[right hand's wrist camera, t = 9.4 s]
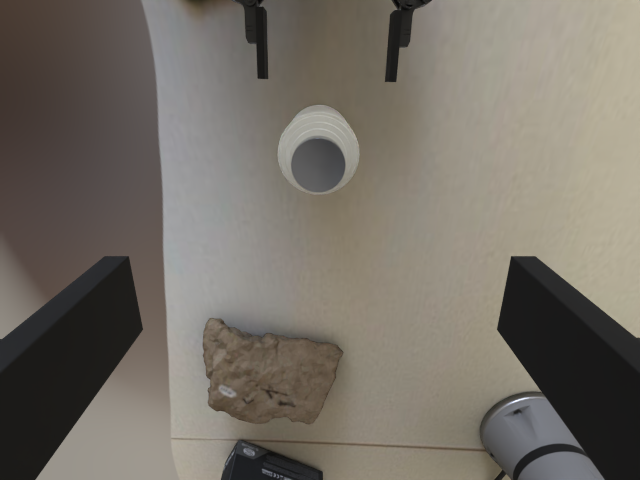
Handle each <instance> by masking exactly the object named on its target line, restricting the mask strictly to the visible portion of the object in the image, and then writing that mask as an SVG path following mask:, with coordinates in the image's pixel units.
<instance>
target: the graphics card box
mask: <svg viewBox="0 0 640 480" xmlns="http://www.w3.org/2000/svg"><path fill="white" fill-rule="evenodd" d="M221 480H323V472H322V471H320V470H317V469H314V468H312V467H309V466H307V465H304V464H302V463H299V462H296V461H294V460H291V459H288V458H286V457H283V456H281V455H278V454H276V453H273V452H270V451H268V450H265V449H263V448H260V447H258V446H255V445H252V444H250V443H247V442H244V441H242V440H239V441H238V442H237V443H236V445H235V447H234V449H233V450H232V452H231V454H230V455H229V457H228V459H227V461H226V463H225V466H224V470H223V474H222V477H221Z"/></svg>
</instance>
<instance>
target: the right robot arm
mask: <svg viewBox="0 0 640 480" xmlns="http://www.w3.org/2000/svg"><path fill="white" fill-rule="evenodd" d="M142 330H143V328H142V322H141V317H140V312H139V307H138V302H137V297H136V291H135V286H134V281H133V276H132V271H131V266H130V260H129V257H128V256H105V257H103V258H102V259H101V260H100V261H98V262H97V263H96V264H95V265H93V266H92V267H91V268H90V269H88V270H87V271H86V272H85V273H84V274H82V275H81V276H80V277H79V278H77V279H76V280H75V281H74V282H72V283H71V284H70V285H69V286H67V287H66V288H65V289H64V290H62V291H61V292H60V293H59V294H58V295H56V296H55V297H54V298H53V299H51V300H50V301H49V302H48V303H46V304H45V305H44V306H43V307H41V308H40V309H39V310H38V311H36V312H35V313H34V314H33V315H32V316H30V317H29V318H28V319H27V320H25V321H24V322H23V323H22V324H20V325H19V326H18V327H17V328H15V329H14V330H13V331H12V332H10V333H9V334H8V335H7V336H6V337H4V338H3V339H0V480H35V479H36V478H37V477H38V475H39V474H40V472H41V471H42V470H43V468H44V467H45V465H46V464H47V463H48V461H49V460H50V458H51V457H52V456H53V454H54V453H55V451H56V450H57V449H58V447H59V446H60V445H61V443H62V442H63V440H64V439H65V437H66V436H67V435H68V433H69V432H70V431H71V429H72V428H73V426H74V425H75V424H76V422H77V421H78V419H79V418H80V417H81V415H82V414H83V412H84V411H85V410H86V408H87V407H88V405H89V404H90V403H91V401H92V400H93V398H94V397H95V396H96V394H97V393H98V392H99V390H100V389H101V387H102V386H103V385H104V383H105V382H106V380H107V379H108V378H109V376H110V375H111V373H112V372H113V371H114V369H115V368H116V366H117V365H118V364H119V362H120V361H121V359H122V358H123V357H124V355H125V354H126V352H127V351H128V350H129V348H130V347H131V345H132V344H133V343H134V341H135V340H136V338H137V337H138V336H139V334H140V333H141V331H142ZM497 330H498V332H499V333H500V334H501V336H502V337H503V338H504V340H505V341H506V343H507V344H508V345H509V347H510V348H511V350H512V351H513V352H514V354H515V355H516V357H517V358H518V359H519V361H520V362H521V364H522V365H523V366H524V368H525V369H526V371H527V372H528V373H529V375H530V376H531V378H532V379H533V380H534V382H535V383H536V385H537V386H538V387H539V389H540V390H541V391H542V393H541V392H526V393H520V394H516V395H513V396H510V397H508V398H506V399H504V400H502V401H500V402H499V403H497V404H496V405H495V406H493V407H492V408H491V409H490V410H489V411H488V413H487V414H486V415H485V417H484V419H483V421H482V423H481V427H480V437H481V440H482V443H483V445H484V447H485V449H486V451H487V453H488V454H489V455H490V457H491V458H492V459H493V460H494V461H495V462H496V463H498V465H499V466H500V467H501V468H502V471H501V473H500V474H499V475H498V476H497V477H496V479H495V480H502V478H503V477H504V476H505V475H506V474H507V475H508V476H509V477H510V478H511V479H512V480H640V338H636V337H634V336H633V335H632V334H631V333H630V332H628V331H627V330H626V329H625V328H623V327H622V326H621V325H620V324H618V323H617V322H616V321H615V320H613V319H612V318H611V317H610V316H608V315H607V314H606V313H605V312H604V311H602V310H601V309H600V308H599V307H597V306H596V305H595V304H594V303H592V302H591V301H590V300H589V299H587V298H586V297H585V296H584V295H582V294H581V293H580V292H579V291H578V290H576V289H575V288H574V287H573V286H571V285H570V284H569V283H568V282H566V281H565V280H564V279H563V278H561V277H560V276H559V275H558V274H556V273H555V272H554V271H553V270H552V269H550V268H549V267H548V266H547V265H545V264H544V263H543V262H542V261H540V260H539V259H538V258H537V257H535V256H511V260H510V266H509V271H508V276H507V281H506V286H505V291H504V297H503V302H502V307H501V312H500V317H499V322H498V327H497Z"/></svg>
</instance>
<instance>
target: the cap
mask: <svg viewBox="0 0 640 480" xmlns="http://www.w3.org/2000/svg"><path fill="white" fill-rule="evenodd" d="M345 167H346V164H345V158H344V155H343V152H342V150H341V148H340V146H339V145H338V144H337V143H336V142H335V141H334V140H332V139H331V138H328V137H326V136H320V135H316V136H311V137H308V138H306V139H304V140H303V141H302V142H301V143H300V144H299V145H298V146H297V147H296V149H295V151H294V154H293V156H292V160H291V171H292V174H293V177H294V178H295V180H296V182H297V183H298V184H299V185H300V186H301V187H303V188H304V189H306V190H308V191H311V192H326V191H328V190H331V189H333V188H334V187H335V186H336V185H338V184H339V182H340V181H341V180H342V178H343V176H344V173H345Z"/></svg>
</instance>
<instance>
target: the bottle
mask: <svg viewBox="0 0 640 480" xmlns="http://www.w3.org/2000/svg"><path fill="white" fill-rule="evenodd" d="M316 135H320V136H326V137H328V138H331V139H332V140H334V141H335V142H336V143H337V144H338V145H339V146H340V148H341V150H342V152H343V155H344V158H345V164H346V167H345V173H344V176H343V178H342V180H341V181H340V182H339V184H338V185H336V186H335V187H334V188H333V189H331V190H328V191H326V192H311V191H308V190H306V189H304V188H303V187H301V186H300V185H299V184H298V183H297V182H296V180H295V178H294V177H293V174H292V171H291V160H292V156H293V154H294V151H295V149H296V147H297V146H298V145H299V144H300V143H301V142H302V141H303V140H304V139H306V138H308V137H311V136H316ZM359 154H360V153H359V145H358V141H357V138H356V136H355V134H354V132H353V130H352V129H351V127H350V126H349V125H348V123H347V122H346V120H345V119H344V117H343V116H342V115H341V114H340V113H339V112H338V111H337V110H335V109H333V108H331V107H329V106H325V105H313V106H309V107H307V108H305V109H303V110H301V111H300V112H299V113H298V114H297V115H296V116H295V117H294V118H293V120H292V121H291V122H290V124H289V125H288V126H287V128H286V129H285V130H284V132H283V134H282V136H281V138H280V141H279V145H278V162H279V166H280V169H281V171H282V173H283V175H284V176H285V178H286V179H287V180H288V181H289V182H290V183H291V184H292V185H293V186H294V187H295V188H297V189H299V190H300V191H303V192H305V193H309V194H314V195H323V194H329V193H332V192H335V191H337V190H339V189H340V188H342V187H343V186H344V185H346V184H347V183H348V182H349V180H350V179H351V178H352V177H353V175H354V173H355V171H356V169H357V166H358V162H359Z"/></svg>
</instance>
